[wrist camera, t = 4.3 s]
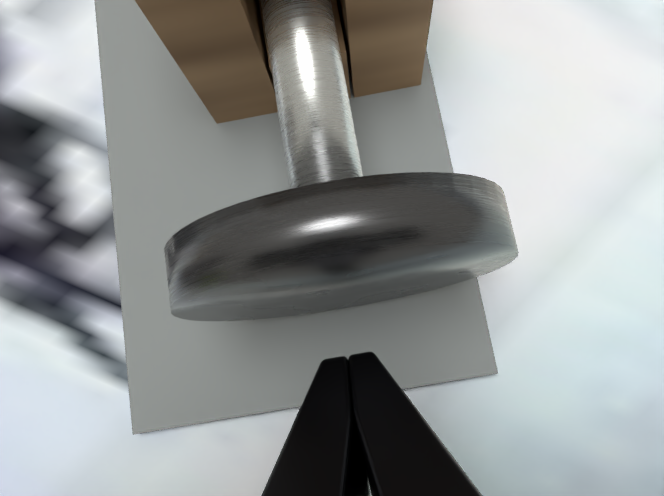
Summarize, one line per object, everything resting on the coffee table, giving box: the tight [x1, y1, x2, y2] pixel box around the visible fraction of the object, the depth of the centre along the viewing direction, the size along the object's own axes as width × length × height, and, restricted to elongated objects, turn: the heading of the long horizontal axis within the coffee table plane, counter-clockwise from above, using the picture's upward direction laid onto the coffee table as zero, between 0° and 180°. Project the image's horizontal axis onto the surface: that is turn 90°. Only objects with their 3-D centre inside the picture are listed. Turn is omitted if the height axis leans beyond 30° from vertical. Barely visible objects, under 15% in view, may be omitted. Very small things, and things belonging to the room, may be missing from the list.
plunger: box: [164, 0, 518, 321], centre depth 13 cm, size 11×7×7 cm, turn 9°
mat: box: [95, 0, 498, 434], centre depth 18 cm, size 20×10×1 cm, turn 9°
